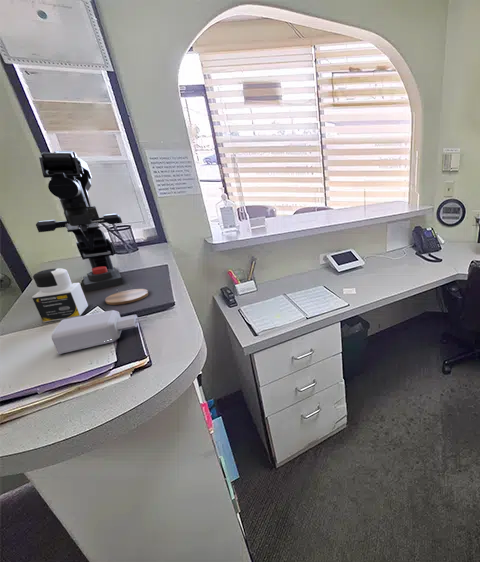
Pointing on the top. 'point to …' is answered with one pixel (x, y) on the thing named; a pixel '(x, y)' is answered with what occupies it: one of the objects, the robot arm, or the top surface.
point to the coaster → (126, 296)
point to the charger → (91, 330)
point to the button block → (102, 280)
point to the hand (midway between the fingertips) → (91, 250)
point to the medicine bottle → (58, 295)
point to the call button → (99, 270)
